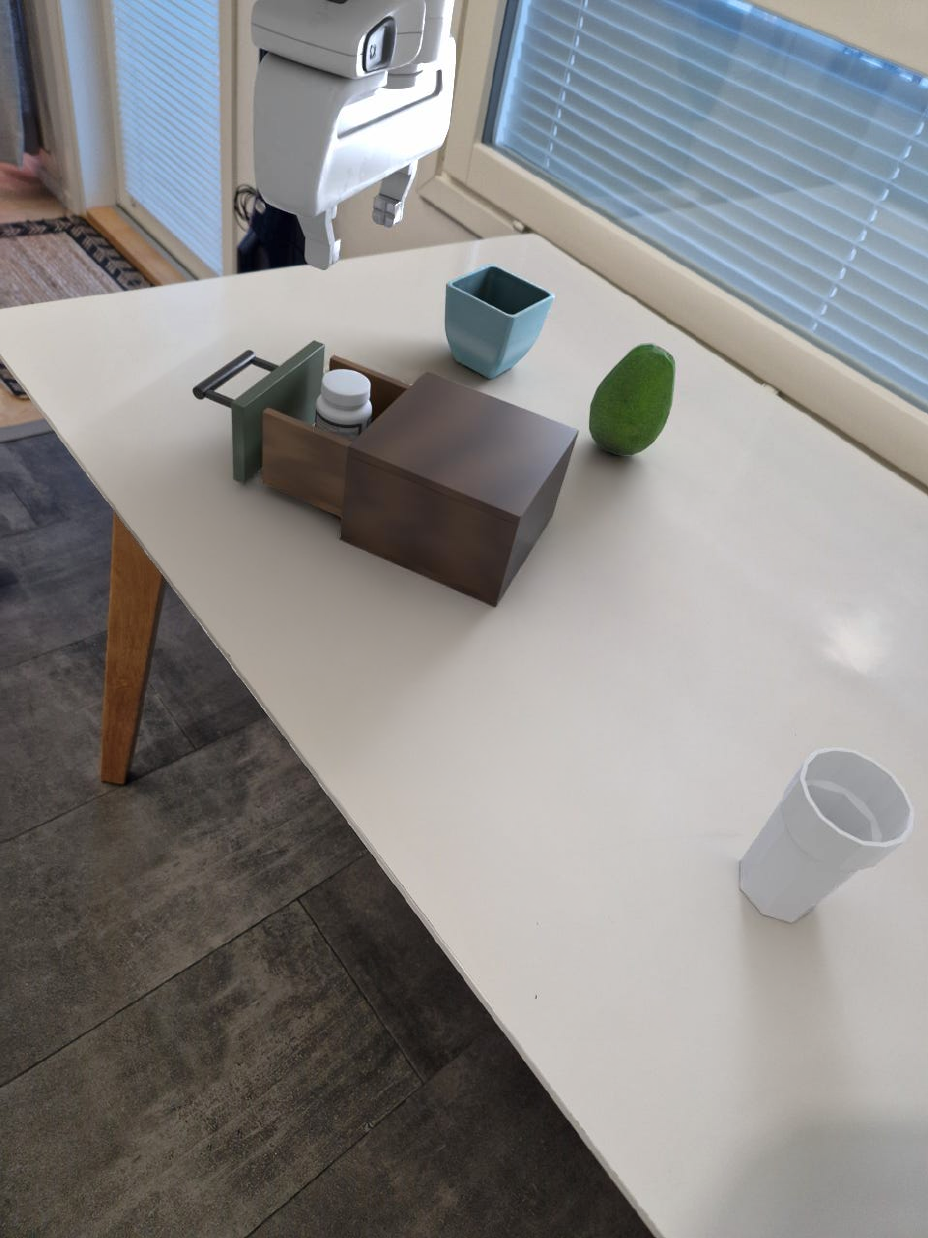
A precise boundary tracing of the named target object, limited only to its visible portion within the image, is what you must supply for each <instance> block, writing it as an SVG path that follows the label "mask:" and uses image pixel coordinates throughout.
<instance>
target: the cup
mask: <svg viewBox="0 0 928 1238" xmlns="http://www.w3.org/2000/svg"><path fill="white" fill-rule="evenodd" d="M915 816H916V811H915V807H914V805H913V804H912V801H911V799H910V796H909V794H908V792H907V790H906V789H905V788H904V786H903V785H902V783H901V782H900V781H899V779H898V778H897V777H896V775H895V774H894V772H892V771H890V769H888V768H886V767H885V766H884V765H882V764H881V763H880V762H878V761H877V760H875V759H874V758H872V757H870V756H868V755H866V754H864V753H862V752H861V751H858V750H855V749H853V748H848V747H847V748H846V747H837V746H830V747H829V746H828V747H824V748H820V749H815V750H813V751H812V753H811V754H809V755H808V757H806V759H805V760H804V761H803V762H802V763H801V766H800V767H799V769H798V770H797V771H796V772H795V774H794V776H793V777H792V779H791V780H790V781H789V784H788V785H787V786H786V787H785V789H784V791H783V794H782V797H781V800H780V801H779V803H778V804H777V805H776V807H775V809H774V810H773V812H772V814H771V815H770V816H769V818H768V819H767V821H766V822H765V824H764V826H763V827H762V829H761V830H760V831H759V832H758V835H757V836H756V837H755V839H754V840H753V841H752V844H751V845H750V846H749V848H748V849H747V850H746V852H745V854H744V855H743V857H742V858H740V860H739V889H740V890H741V891H742V892H743V894H744V895H745V896H746V897H747V899H749V901H750V902H751V903H752V904H753V906H754V907H755V908H756V909H757V910H758V912H759V913H760V914H761V915H763V916H766V917H769V918H773V919H777V920H780V921H783V922H786V923H790V924H794V923H795V922H797V921H798V920H799V919H801V918H802V917H804V916H806V915H807V914H808V913H810V912H811V911H813V910H814V909H815V908H816V907H817V906H818V905H819V904H820V903H821V902H822V901H824V900H825V899H826V898H828V896H830V895H831V894H832V893H834V892H835V891H836V890H837V889H838V888H839V887H841V886H842V885H843V884H845V882H847V881H848V880H849V879H851V877H853V876H854V875H855V874H856V873H858V872H859V871H862V870H866V869H870V868H873V867H876V865H878V864H880V863H881V862H882V861H883V860H884V859H885V858H887V857H888V856H889V855H890V854H892V853H893V852H894V851H895V850H896V849H897V848H899V847H900V846H901V845H902V844H904V843H905V841H906V840H907V838H908V837H909V835H910V834H911V833H912V831H913V830H914V823H915Z"/></svg>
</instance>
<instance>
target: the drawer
mask: <svg viewBox="0 0 928 1238" xmlns="http://www.w3.org/2000/svg"><path fill="white" fill-rule="evenodd" d="M325 350H326V344H325V343H323V342H320V341H317V340H314V339H313V340H312V341H310V342H309V343H308V344H307V345H305V346H304V347H303V348H301V349H300V350H299V351H297V352H296V353H295V354H293V355H292V356H291V357H289V358H288V359H287V360H285V361H284V362H282V363H281V364H280V365H278V364H276V363H273V362H271V361H268V360H265V359H263V358H260V357H258V356H257V355H256V353H255V352H254V351H253V350H251V349H247V350H245V351H244V352H242V353H240V354H239V355H238V356H237V357H235V358H233V359H232V360H231V361H230V362H228V363H226V364H225V365H224V366H222V367H221V368H219V369H218V370H216V371H215V372H213V373H212V374H211V375H209V376H208V377H206V378H204V379H203V380H202V381H201V382H199V383H198V384H196V385H195V386H194V387H193V388H192V394H193V396H194V397H195V398H196V399H197V400H200V401H202V400H205V398H206V399H208V400H209V401H212V402H214V403H216V404H220V405H222V406H224V407H227V408H228V409H230V411H231V412H230V413H231V448H232V450H231V451H232V479H233V480H234V481H236V482H238V483H240V484H243V485H246V484H247V483H248V482H249V481H251V479H253V478H254V477H255V476H256V475H257V474H258V473H259V472H260V471H262V472H261V473H262V475H261V476H262V478H261V479H262V482H261V483H262V484H263V485H266V486H267V487H270V488H272V489H274V490H277V491H279V492H281V493H283V494H286V495H288V496H291V497H292V498H295V499H298V500H300V501H302V502H304V503H307V504H308V505H309V504H310V505H312V506H314V507H317V508H319V509H321V510H323V511H326V512H328V513H330V514H333V515H335V516H336V517H340V518H342V509H343V497H344V486H345V475H346V463H347V453H348V446H349V445H350V444H351V443H352V442H351V441H348V440H346V439H343V438H341V437H339V436H336V435H334V434H331V433H329V432H326V431H324V430H322V429H319V428H317V427H315V417H316V402H317V399H318V397H319V395H320V394H321V385H322V378H323V376H324V368H325V352H326V351H325ZM251 365H252V366H254V367H258V368H260V369H263V370H265V371H268V372H269V373H268V374H267V375H266V376H264V377H262V379H260V380H259V381H258V382H256V383H255V384H253V385H252V386H250V387H249V388H248V389H246V390H245V391H244V392H242V394H240V395H239V396H237V397H236V398H235V399H233V398H231V397H229V396H227V395H225V394H222V393H219V392H217V390H218V389H219V388H221V387H223V386H224V385H225V384H226V383H228V382H229V381H231V380H232V379H233V378H234V377H236V376H237V375H239V374H240V373H242V372H243V371H244V370H246V369H247V368H249V367H250V366H251ZM328 365H329V366H328V372H330V371H332V370H338V369H345V370H352V371H355V372H358V373H360V374H362V375H364V376H365V377H366V378H367V379H368V380H369V382H370V398H369V401H370V403H371V405H372V416H371V424H372V423H373V422H374V421H375V420H376V419H377V418H378V417H379V416H380V415H381V414H382V413H383V412H384V411H385V410H386V409H387V408H388V407H389V406H390V405H391V404H392V403H393V402H394V401H395V400H396V399H398V398H399V397H400V396H401V395H402V394H403V393H404V392H405V391H406V390H407V389H408V388H409V387H410V386H411V385H412V384H409V383H407V382H404V381H403V380H402V381H401V380H400V379H398V378H397V379H396V378H395V377H392V376H389V375H387V374H384V373H383V372H380V371H376V370H374V369H371V368H369V367H366V366H364V365H361V364H359V363H357V362H354V361H351V360H348V359H346V358H344V357H341V356H338V355H336V354H333V355H331V357H329V364H328Z"/></svg>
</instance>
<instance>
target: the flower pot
mask: <svg viewBox="0 0 928 1238" xmlns="http://www.w3.org/2000/svg"><path fill="white" fill-rule="evenodd" d="M555 297H556V295H555V293H554V292H551V291H549V290H547V289H545V288H543V287H541V286H540V285H537V284H535V283H533V282H531V281H529V280H527V279H525V278H523V277H521V276H520V275H517V274H515V273H512V272H511V271H509V270H507V269H506V268H505V269H504V267H501V266H498V265H496V264H494V263H489V264H486V265H484V266H481V267H479V268H477V269H475V270H473V271H471V272H469V273H466V274H463V275H461V276H459V277H457V278H454V279H452V280H450V281H448V282H446V284H445V298H444V299H445V300H444V331H445V337H446V341H447V344H448V347H449V349H450V351H451V353H452V355H453V358H454V359H455V361H456V362H458V363H459V364H461V365H463V366H465V367H467V368H469V369H470V370H473V371H474V372H476V373H478V374H480V375H482V376H483V377H485V378H487V379H489V380H493V379H495V378H496V377H498V376H500V375H501V374H503V373H505V372H506V371H508V370H510V369H512V368H513V367H515V366H516V365H517V364H518V363H519V362H520V361H521V360H522V359H523V358H524V357H525V356H526V355H527V354H528V352H529V351H530V350H531V349H532V347H533V346H534V345H535V343H536V342H537V340H538V338H539V336H540V334H541V332H542V330H543V327H544V325H545V322H546V320H547V317H548V314H549V312H550V310H551V308H552V305H553V303H554V299H555Z"/></svg>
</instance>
